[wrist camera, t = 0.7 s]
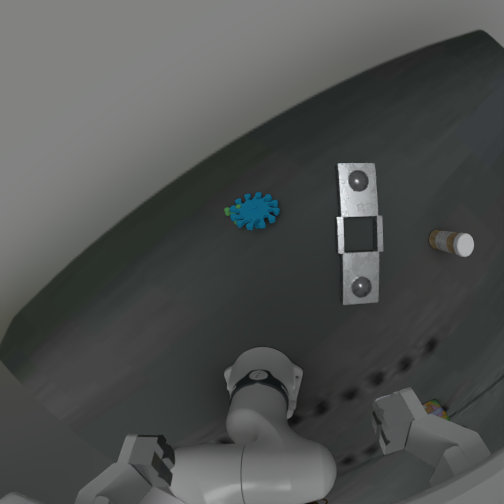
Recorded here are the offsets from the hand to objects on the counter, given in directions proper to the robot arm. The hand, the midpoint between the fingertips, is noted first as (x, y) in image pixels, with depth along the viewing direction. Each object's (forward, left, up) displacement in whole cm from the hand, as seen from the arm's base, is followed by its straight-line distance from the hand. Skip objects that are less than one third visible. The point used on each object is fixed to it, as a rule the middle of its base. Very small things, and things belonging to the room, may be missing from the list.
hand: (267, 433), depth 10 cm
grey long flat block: (+3, -17, -56) cm, 58 cm away
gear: (+9, +5, -56) cm, 57 cm away
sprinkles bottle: (+1, -37, -56) cm, 67 cm away
